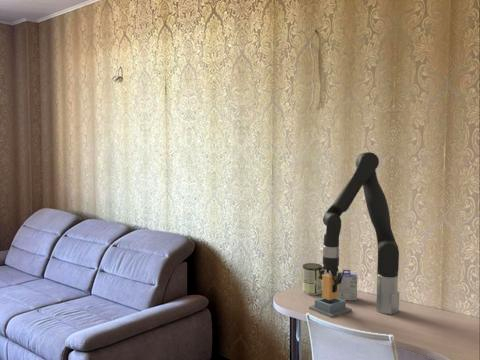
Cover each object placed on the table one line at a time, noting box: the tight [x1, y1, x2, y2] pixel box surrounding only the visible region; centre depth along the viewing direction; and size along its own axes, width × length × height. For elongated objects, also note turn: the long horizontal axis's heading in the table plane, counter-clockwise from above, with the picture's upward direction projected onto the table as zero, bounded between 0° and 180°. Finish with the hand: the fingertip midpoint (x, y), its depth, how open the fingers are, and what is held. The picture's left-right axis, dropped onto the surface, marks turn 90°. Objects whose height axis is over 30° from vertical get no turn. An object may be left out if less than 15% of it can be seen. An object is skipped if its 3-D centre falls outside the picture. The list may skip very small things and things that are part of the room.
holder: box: [308, 297, 352, 318], centre depth 216 cm, size 14×14×4 cm
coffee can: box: [302, 262, 323, 296], centre depth 241 cm, size 10×10×14 cm
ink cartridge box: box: [338, 269, 358, 301], centre depth 231 cm, size 10×6×14 cm, turn 89°
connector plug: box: [321, 273, 338, 300], centre depth 215 cm, size 4×6×12 cm
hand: (330, 290), depth 216 cm, fingers closed on connector plug, 4 cm apart
